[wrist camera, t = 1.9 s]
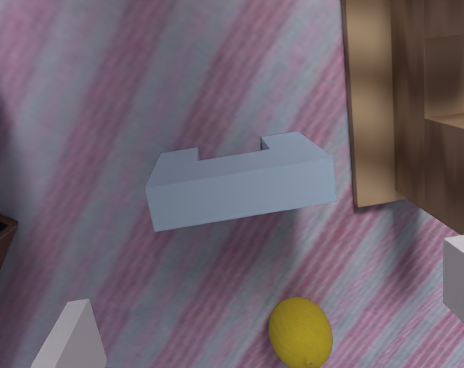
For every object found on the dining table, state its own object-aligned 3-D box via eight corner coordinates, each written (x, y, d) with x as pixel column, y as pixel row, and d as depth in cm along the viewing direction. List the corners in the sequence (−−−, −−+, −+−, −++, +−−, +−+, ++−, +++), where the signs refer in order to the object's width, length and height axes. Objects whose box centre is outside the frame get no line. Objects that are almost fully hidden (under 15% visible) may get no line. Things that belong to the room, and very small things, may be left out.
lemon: (251, 311, 40) (263, 370, 32) (288, 271, 39) (308, 322, 31) (293, 338, 41) (313, 401, 33) (329, 300, 40) (358, 357, 32)
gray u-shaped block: (167, 185, 35) (154, 232, 26) (161, 153, 34) (144, 188, 25) (301, 164, 36) (336, 201, 26) (297, 131, 35) (333, 157, 25)
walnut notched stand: (337, -64, 30) (407, -130, 20) (465, -84, 31) (601, -159, 20) (353, 203, 37) (413, 260, 27) (459, 186, 37) (559, 235, 27)
